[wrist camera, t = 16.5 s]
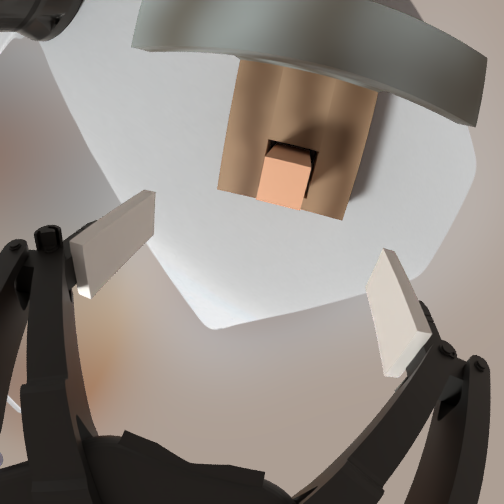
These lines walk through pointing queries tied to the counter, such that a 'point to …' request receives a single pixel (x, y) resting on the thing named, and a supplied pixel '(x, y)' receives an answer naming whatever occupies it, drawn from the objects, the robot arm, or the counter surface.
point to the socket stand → (315, 79)
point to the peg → (285, 176)
